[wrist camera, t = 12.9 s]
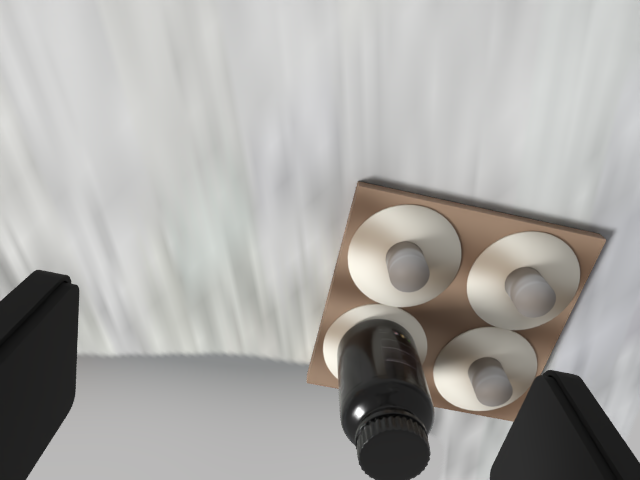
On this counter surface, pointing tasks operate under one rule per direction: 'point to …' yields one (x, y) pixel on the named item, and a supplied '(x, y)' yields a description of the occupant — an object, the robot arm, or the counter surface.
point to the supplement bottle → (384, 399)
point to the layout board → (456, 293)
